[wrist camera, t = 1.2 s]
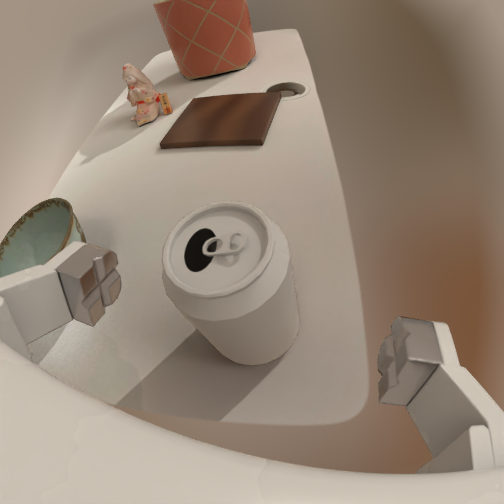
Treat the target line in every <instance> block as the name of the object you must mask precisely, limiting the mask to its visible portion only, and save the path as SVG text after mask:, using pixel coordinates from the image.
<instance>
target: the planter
mask: <svg viewBox="0 0 504 504" xmlns="http://www.w3.org/2000/svg"><path fill="white" fill-rule="evenodd" d="M154 8H155V10H156V13H157V16H158V18H159V21H160V23H161V26H162V28H163V31H164V33H165V36H166V38H167V41H168V43H169V45H170V48H171V50H172V53H173V55H174V58H175V60H176V63H177V65H178V68H179V70H180V72H181V73H182V74H183V75H184V76H185V77H186V78H187V79H188V80H192V79H195V78H200V77H205V76H211V75H215V74H220V73H224V72H228V71H233V70H238V69H244V68H246V66H247V64H248V62H249V61H250V60H251V59H252V58H253V57H254V56H255V54H256V50H255V44H254V39H253V33H252V28H251V22H250V17H249V12H248V6H247V1H246V0H160V1H157V2H156V3H154Z"/></svg>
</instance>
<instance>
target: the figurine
mask: <svg viewBox="0 0 504 504" xmlns="http://www.w3.org/2000/svg"><path fill="white" fill-rule="evenodd" d="M123 79H124V80H125V81H126V82H127V84H128V89H129V91H128V97H127V99H128V100H129V101H130V102H131V105H132V106H136V105H137V115H135V116H133V117H131V121H133V120H135V121H137V125H138V126H140V125H142V124H144V123H147V122H151V121H153V120H154V119H155V118H156V117H157V116H158V113H159V103H158V102H159V101H160V102H161V105H162V108H163V111H164V114H165V115H166V114H169V113H172V109H171V106H170V102H169V99H168V96H167V93H164V94H160V93H159V92H157V91H156V90H154V89H153V84H152V83H151V81H150V80H149V79H148V78H147V77H146V76H145V75H144V74H143V73H142V72H141V71H140V70H139V69H137V68H136V67H133V66H132V65H131V64H126V65H124V67H123Z"/></svg>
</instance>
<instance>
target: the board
mask: <svg viewBox="0 0 504 504" xmlns="http://www.w3.org/2000/svg"><path fill="white" fill-rule="evenodd" d="M280 99H281V92H266V93H246V94H232V95H220V96H210V97H201V98H194V99H193V100H192V101H191V102H190V104H189V105H188V106H187V107H186V109H185V110H184V111H183V113H182V114H181V115H180V117H179V118H178V119H177V121H176V122H175V123H174V125H173V126H172V127H171V129H170V130H169V131H168V133H167V134H166V135H165V137H164V138H163V140H162V141H161V142H160V147H161V149H166V148H180V147H199V146H228V145H263V144H264V141H265V138H266V136H267V133H268V130H269V128H270V125H271V123H272V120H273V117H274V115H275V112H276V110H277V107H278V104H279V102H280Z"/></svg>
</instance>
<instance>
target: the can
mask: <svg viewBox="0 0 504 504" xmlns="http://www.w3.org/2000/svg"><path fill="white" fill-rule="evenodd" d="M162 265H163V275H162V279H163V283H164V286H165V290H166V294H167V295H168V296H169V298H170V299H171V300H172V302H173V303H174V304H175V306H176V307H177V308H178V309H179V310H180V311H181V313H182V314H183V315H184V316H185V317H186V318H187V319H188V320H189V321H190V322H191V323H192V324H193V325H194V326H195V327H196V328H197V329H198V330H199V331H200V332H201V333H202V334H203V335H204V337H205V338H206V339H207V340H208V341H209V342H210V343H211V344H212V345H213V346H214V347H215V348H216V349H217V350H218V351H219V352H220V353H221V354H222V355H223V356H225V357H227V358H228V359H230V360H232V361H234V362H235V363H239V364H244V365H250V366H251V365H260V364H266V363H268V362H270V361H272V360H275V359H277V358H279V357H280V356H281V355H282V354H283V353H285V352H286V351H287V350H288V349H289V348H290V347H291V345H292V343H293V342H294V340H295V338H296V336H297V335H298V329H299V324H300V317H299V310H298V304H297V297H296V291H295V284H294V278H293V272H292V266H291V260H290V254H289V248H288V242H287V239H286V237H285V235H284V234H283V232H282V231H281V229H280V227H279V226H278V225H277V224H276V223H274V222H273V221H272V220H270V219H269V218H268V217H267V216H266V215H265V214H264V213H263V212H261V211H260V210H259V209H257V208H256V207H255V206H252V205H249V204H246V203H243V202H240V201H220V202H215V203H211V204H207V205H205V206H202V207H200V208H198V209H196V210H194V211H192V212H191V213H189V214H188V215H187V216H185V217H184V218H183V219H181V220H180V221H179V222H178V223H177V225H176V226H175V227H174V228H173V229H172V231H171V232H170V233H169V235H168V238H167V240H166V242H165V244H164V247H163V254H162Z"/></svg>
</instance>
